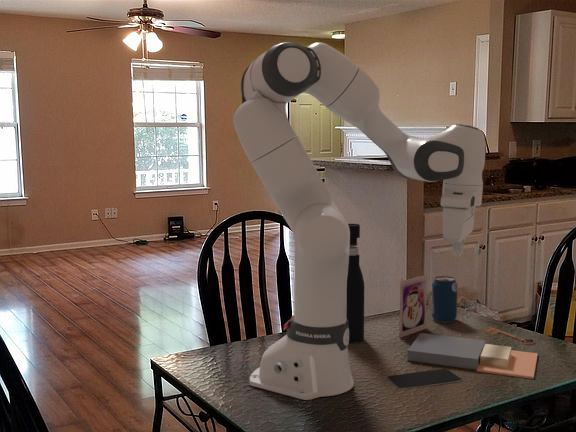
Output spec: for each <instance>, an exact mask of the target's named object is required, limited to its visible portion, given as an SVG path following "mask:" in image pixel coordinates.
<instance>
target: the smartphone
mask: <svg viewBox="0 0 576 432" xmlns="http://www.w3.org/2000/svg"><path fill="white" fill-rule="evenodd" d="M386 379H387V380H388V381H389V382H390V383H392V385H394V386H396V388H397V389H399V390H407V389H416V388H422V387H431V386H438V385H446V384H454V383H459V382H462V378H461V377H460V376H458V375H457V374H455V373H453V372H452V371H450V370H449V369H447V368H440V369H431V370H424V371H416V372H409V373H401V374H393V375H387V377H386Z"/></svg>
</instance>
